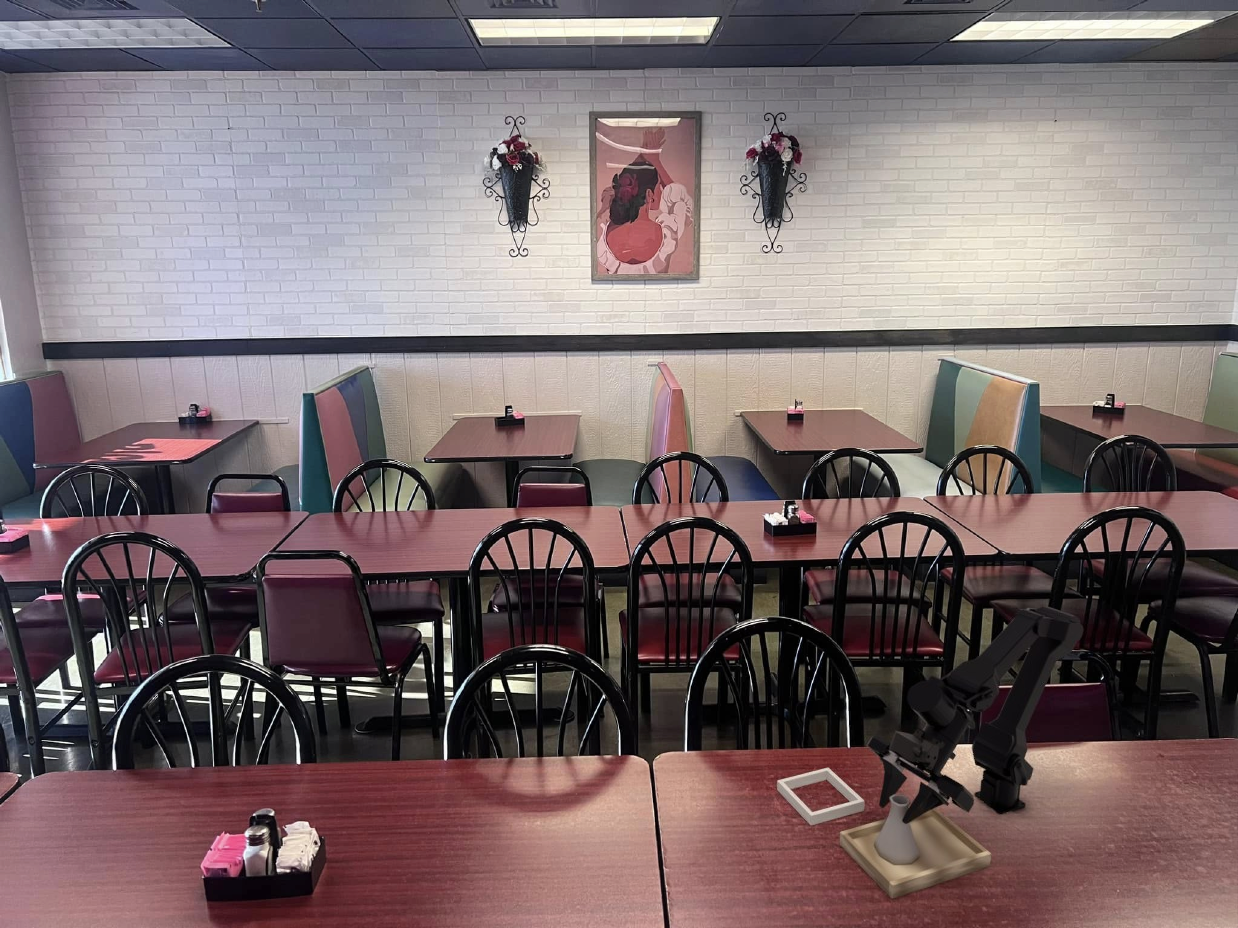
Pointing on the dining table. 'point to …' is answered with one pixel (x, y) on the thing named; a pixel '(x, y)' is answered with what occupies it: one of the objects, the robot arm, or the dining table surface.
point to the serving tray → (939, 848)
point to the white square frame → (825, 814)
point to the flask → (897, 834)
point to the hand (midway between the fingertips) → (892, 814)
